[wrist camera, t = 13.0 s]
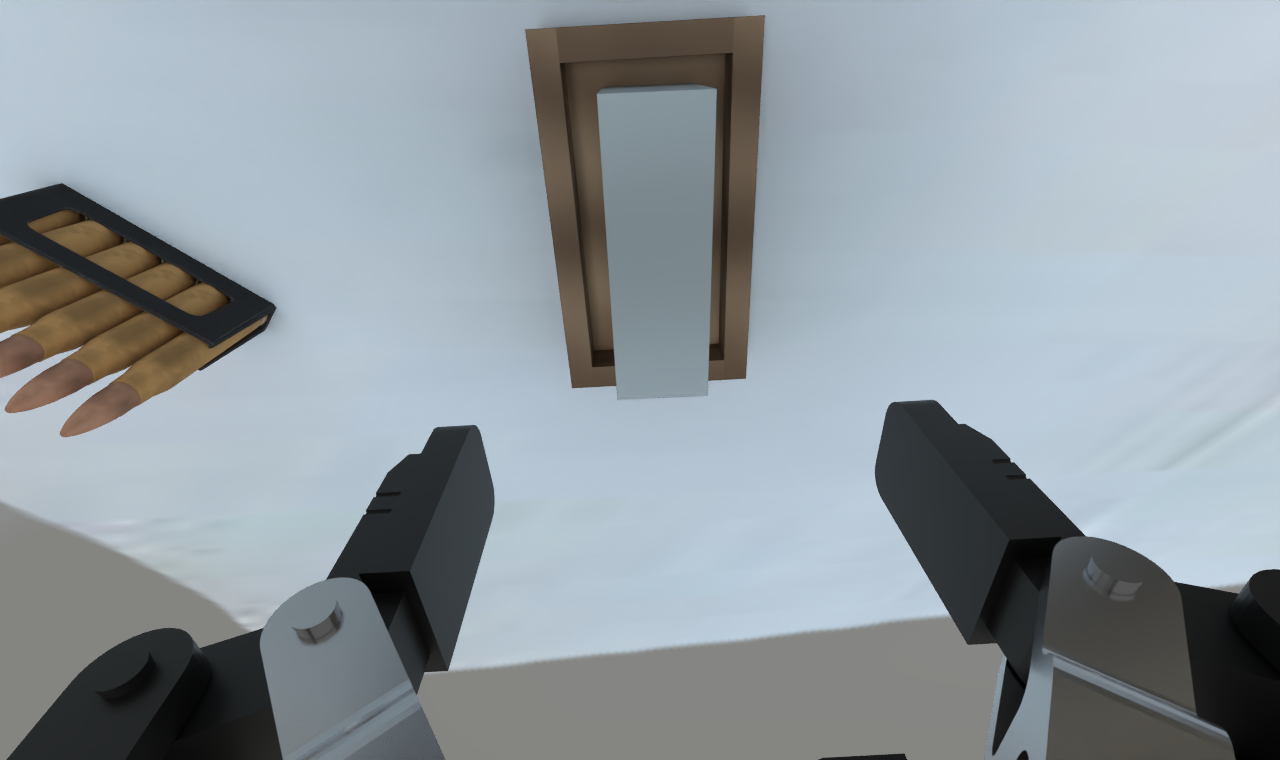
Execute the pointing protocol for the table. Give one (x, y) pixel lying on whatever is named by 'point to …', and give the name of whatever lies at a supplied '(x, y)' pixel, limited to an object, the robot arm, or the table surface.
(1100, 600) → the robot arm
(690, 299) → the long grey rectangular block
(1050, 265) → the table surface
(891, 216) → the table surface
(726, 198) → the cradle jig
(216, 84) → the table surface
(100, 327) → the ammunition clip
